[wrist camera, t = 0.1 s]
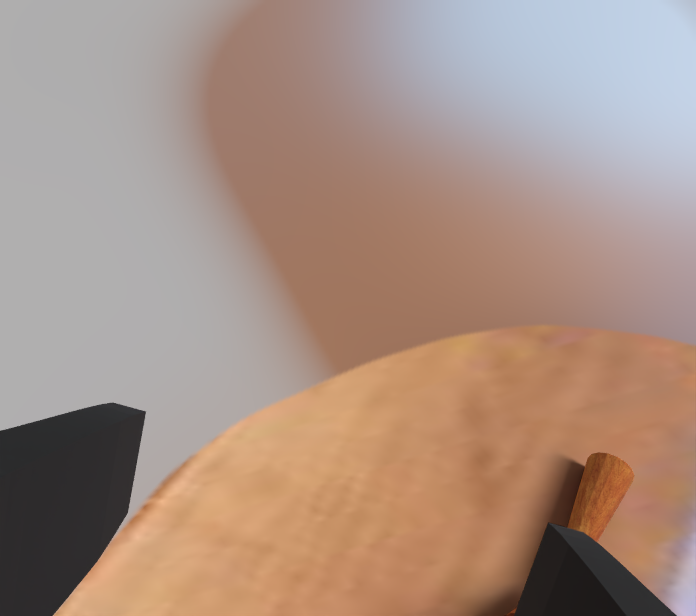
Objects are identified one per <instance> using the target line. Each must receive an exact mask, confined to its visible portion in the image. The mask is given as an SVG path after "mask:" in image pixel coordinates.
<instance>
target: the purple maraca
mask: <svg viewBox="0 0 696 616" xmlns="http://www.w3.org/2000/svg"><path fill="white" fill-rule="evenodd" d="M633 479H634V474H633V471H632V469H631V468H630V467H629V466H628V464H627V463H626V462H624V461H623V460H621V459H620V458H618V457H616V456H613V455H610V454H608V453H594V454H591V455H590V456H589V457H588V459H587V462H586V466H585V469H584V472H583V476H582V479H581V483H580V486H579V489H578V493H577V496H576V499H575V503H574V506H573V510H572V513H571V516H570V520H569V523H568V526H567V528H570V529H574V530H577V531H581V532H584V533H585V534H587V535H588V536H589V537H591V538H592V539H593V540H595V541H596V542H597V541H598V539H599V538H600V536H601V534H602V533H603V531H604V529H605V528H606V526H607V524H608V522H609V521H610V519H611V517H612V516H613V514H614V512H615V511H616V509H617V507H618V505H619V504H620V502H621V500H622V499H623V497H624V495H625V494H626V492H627V490H628V488H629V487H630V485H631V483H632V482H633ZM516 609H517V608H515V609H514V610H513V611H511V612H510V613H508V614H507V615H506V616H514V614H515V611H516Z"/></svg>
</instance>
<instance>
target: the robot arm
mask: <svg viewBox="0 0 696 616" xmlns="http://www.w3.org/2000/svg"><path fill="white" fill-rule="evenodd" d="M145 414H146V412H145V411H142V410H138V409H134V408H131V407H127V406H123V405H120V404H116V403H107V404H101V405H97V406H92V407H88V408H84V409H81V410H77V411H73V412H69V413H65V414H62V415H58V416H55V417H51V418H47V419H43V420H40V421H36V422H33V423H28V424H25V425H21V426H17V427H14V428H10V429H6V430H2V431H0V616H53V615H54V613H55V612H56V611H57V610H58V609H59V607H60V606H61V605H62V604H63V603H64V601H65V600H66V599H67V598H68V597H69V595H70V594H71V593H72V592H73V590H74V589H75V588H76V587H77V586H78V584H79V583H80V582H81V581H82V580H83V578H84V577H85V576H86V575H87V573H88V572H89V571H90V570H91V568H92V567H93V566H94V565H95V563H96V562H97V561H98V559H99V558H100V556H101V555H102V553H103V552H104V550H105V549H106V547H107V546H108V544H109V543H110V541H111V539H112V538H113V536H114V535H115V533H116V531H117V530H118V528H119V526H120V525H121V523H122V522H123V520H124V518H125V517H126V515H127V513H128V508H129V503H130V497H131V492H132V486H133V481H134V475H135V470H136V464H137V458H138V453H139V447H140V441H141V436H142V431H143V425H144V419H145ZM514 616H676V615H675V614H674V613H673V612H672V611H671V610H670V609H669V608H668V607H667V606H666V605H664V604H663V603H662V602H661V601H660V600H659V599H658V598H657V597H656V596H655V595H654V594H653V593H652V592H651V591H649V590H648V589H647V588H646V587H645V586H644V585H643V584H642V583H641V582H640V581H639V580H638V579H637V578H636V577H635V576H633V575H632V574H631V573H630V572H629V571H628V570H627V569H626V568H625V567H624V566H623V565H622V564H621V563H620V562H618V561H617V560H616V559H615V558H614V557H613V556H612V555H611V554H610V553H609V552H607V551H606V550H605V549H604V548H603V547H602V546H601V545H599V544H598V543H597V542H596V541H595V540H593V539H592V538H591V537H589V536H588V535H587V534H585V533H584V532H581V531H577V530H574V529H570V528H566V527H563V526H559V525H555V524H552V523H548V525H547V528H546V530H545V533H544V536H543V538H542V541H541V544H540V546H539V549H538V552H537V555H536V557H535V560H534V563H533V565H532V568H531V571H530V574H529V576H528V579H527V582H526V584H525V587H524V590H523V592H522V595H521V598H520V601H519V603H518V606H517V609H516V611H515V614H514Z"/></svg>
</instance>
